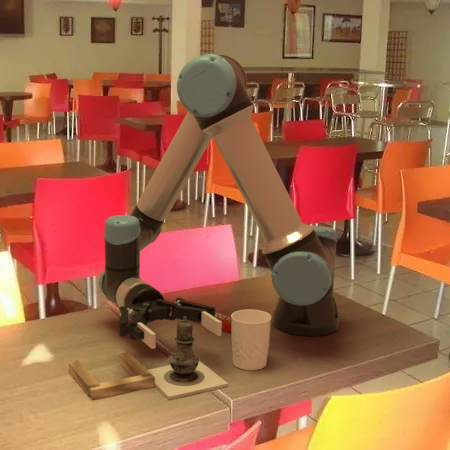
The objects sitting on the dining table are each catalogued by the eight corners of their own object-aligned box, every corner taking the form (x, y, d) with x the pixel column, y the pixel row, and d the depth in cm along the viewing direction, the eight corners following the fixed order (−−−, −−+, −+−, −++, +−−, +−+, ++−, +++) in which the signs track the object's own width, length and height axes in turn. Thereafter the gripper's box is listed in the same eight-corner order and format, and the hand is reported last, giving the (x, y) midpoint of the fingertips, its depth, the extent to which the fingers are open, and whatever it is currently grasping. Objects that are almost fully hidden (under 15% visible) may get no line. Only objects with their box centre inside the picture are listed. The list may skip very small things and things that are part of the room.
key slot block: (127, 360, 143) (127, 351, 142) (154, 386, 132) (154, 377, 131) (69, 371, 137) (68, 362, 137) (92, 399, 126) (91, 390, 126)
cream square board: (197, 362, 143) (197, 359, 143) (227, 386, 133) (227, 382, 132) (141, 373, 137) (141, 370, 137) (168, 399, 127) (168, 396, 127)
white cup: (257, 375, 138) (259, 326, 135) (222, 365, 142) (223, 317, 139) (276, 361, 144) (278, 314, 142) (242, 352, 148) (244, 306, 146)
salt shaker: (195, 384, 131) (196, 322, 129) (164, 381, 132) (165, 319, 130) (202, 371, 137) (204, 311, 134) (173, 368, 138) (173, 309, 135)
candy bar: (179, 318, 167) (179, 306, 167) (190, 314, 170) (190, 302, 170) (232, 336, 158) (233, 323, 157) (243, 331, 160) (243, 319, 160)
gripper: (193, 308, 157) (244, 342, 139) (83, 327, 144) (124, 366, 126) (193, 275, 155) (246, 305, 137) (82, 291, 142) (123, 326, 125)
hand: (187, 335), depth 132 cm, fingers open, 13 cm apart
